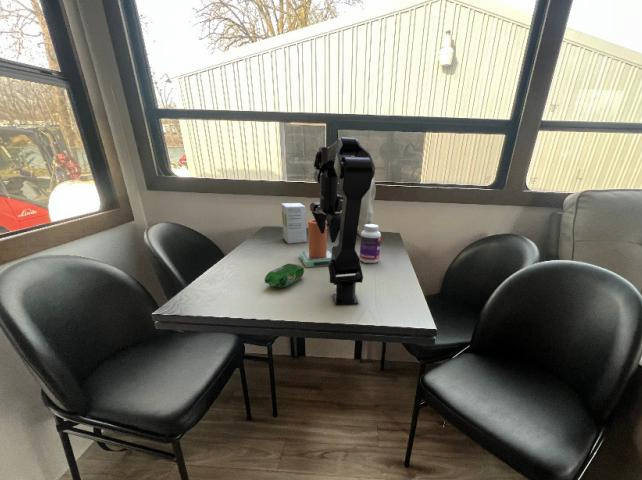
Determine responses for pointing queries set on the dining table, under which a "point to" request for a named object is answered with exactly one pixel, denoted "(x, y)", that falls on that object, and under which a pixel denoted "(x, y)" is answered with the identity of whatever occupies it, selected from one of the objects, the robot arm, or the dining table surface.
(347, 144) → the robot arm
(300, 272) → the snack package
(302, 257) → the scale
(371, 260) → the pill bottle
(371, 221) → the vase
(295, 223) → the supplement box
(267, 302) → the dining table surface
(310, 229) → the jar
